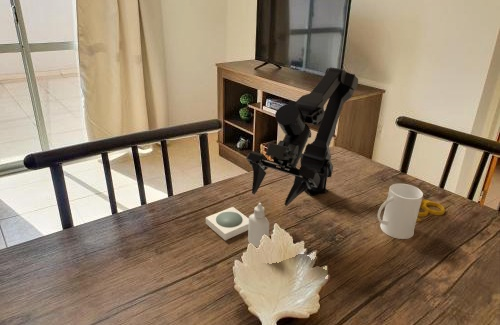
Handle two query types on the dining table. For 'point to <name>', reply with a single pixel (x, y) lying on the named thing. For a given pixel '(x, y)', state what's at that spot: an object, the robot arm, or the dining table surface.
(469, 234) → the dining table surface
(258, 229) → the eye dropper bottle
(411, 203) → the mug
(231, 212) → the plinth
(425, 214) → the yellow scissors
